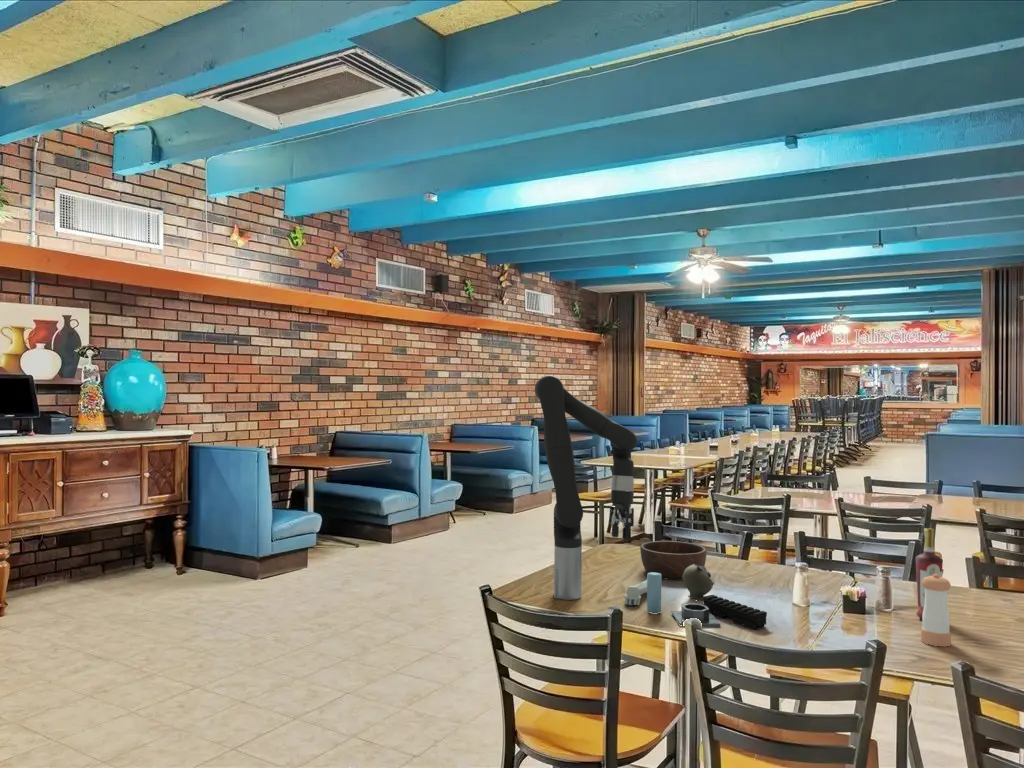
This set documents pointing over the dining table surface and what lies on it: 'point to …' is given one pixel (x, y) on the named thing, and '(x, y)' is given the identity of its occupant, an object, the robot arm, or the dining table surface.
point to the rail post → (654, 592)
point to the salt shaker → (936, 612)
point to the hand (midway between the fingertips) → (620, 538)
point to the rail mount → (735, 611)
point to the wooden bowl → (671, 557)
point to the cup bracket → (696, 615)
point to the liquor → (926, 567)
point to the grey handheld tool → (635, 593)
